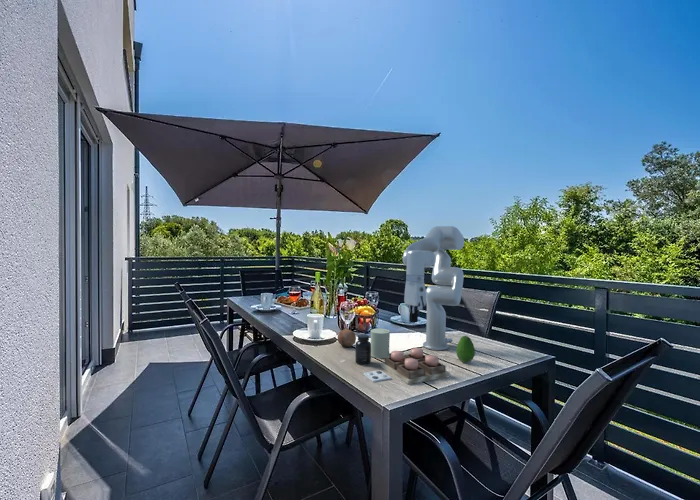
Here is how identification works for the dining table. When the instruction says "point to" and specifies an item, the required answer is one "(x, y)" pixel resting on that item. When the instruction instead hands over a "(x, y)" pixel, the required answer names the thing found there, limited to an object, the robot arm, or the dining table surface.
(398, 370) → the board
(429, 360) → the button
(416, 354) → the button
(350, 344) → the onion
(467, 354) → the avocado
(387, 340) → the can
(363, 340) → the supplement bottle
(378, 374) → the tile
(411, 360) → the button
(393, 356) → the button
